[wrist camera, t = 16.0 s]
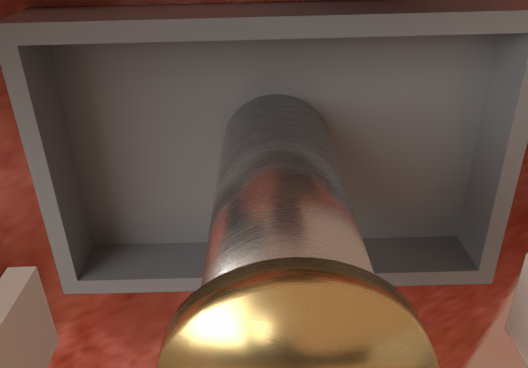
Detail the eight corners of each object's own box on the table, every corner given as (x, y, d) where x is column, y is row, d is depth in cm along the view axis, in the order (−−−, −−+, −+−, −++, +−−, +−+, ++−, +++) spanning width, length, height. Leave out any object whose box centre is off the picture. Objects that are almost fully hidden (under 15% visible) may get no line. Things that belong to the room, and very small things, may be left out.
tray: (28, 7, 21) (-11, 23, 18) (516, -5, 21) (561, 9, 18) (85, 251, 27) (63, 294, 24) (465, 241, 27) (492, 283, 24)
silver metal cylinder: (202, 80, 22) (132, 292, 10) (347, 76, 22) (463, 283, 10) (212, 205, 25) (169, 487, 13) (340, 201, 25) (421, 480, 13)
